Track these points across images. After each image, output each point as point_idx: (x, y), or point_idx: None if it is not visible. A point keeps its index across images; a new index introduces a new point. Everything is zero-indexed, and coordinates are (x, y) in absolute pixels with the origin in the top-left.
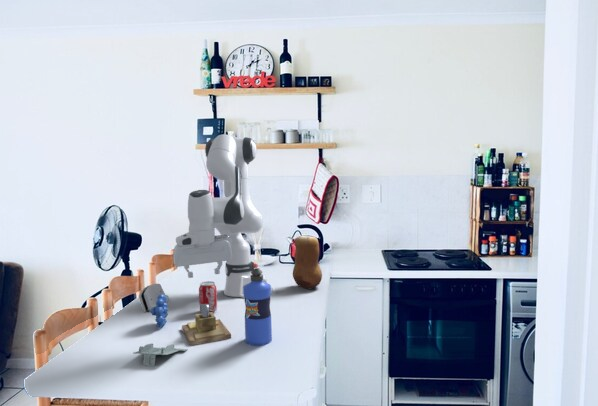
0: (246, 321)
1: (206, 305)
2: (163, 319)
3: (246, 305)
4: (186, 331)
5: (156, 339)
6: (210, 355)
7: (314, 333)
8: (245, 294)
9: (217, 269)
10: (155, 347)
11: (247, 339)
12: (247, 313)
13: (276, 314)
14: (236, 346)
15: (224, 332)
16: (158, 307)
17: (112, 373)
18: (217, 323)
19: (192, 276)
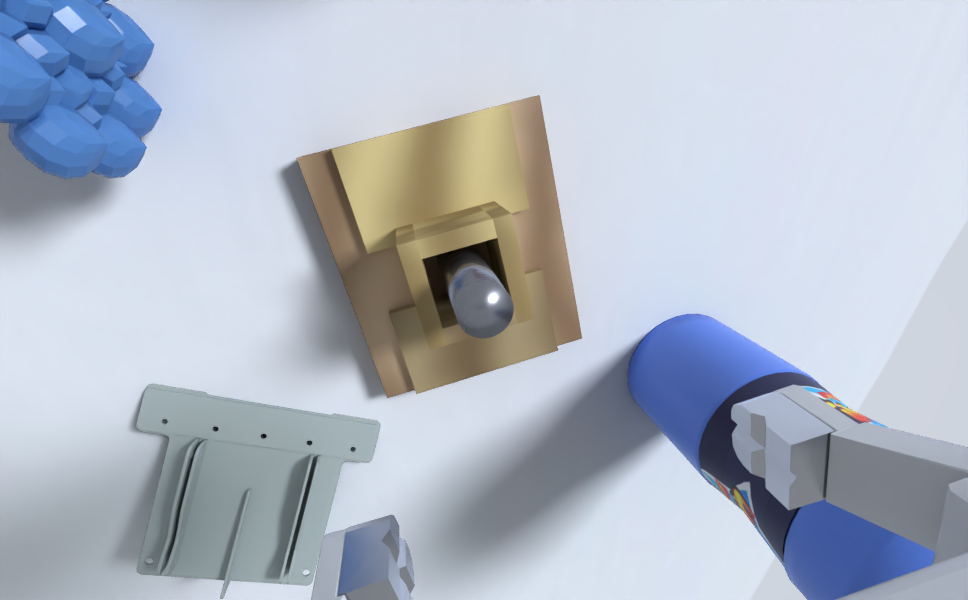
0: (687, 456)
1: (495, 324)
2: (138, 156)
3: (751, 517)
4: (346, 269)
5: (176, 289)
6: (480, 479)
7: (896, 329)
8: (807, 595)
9: (819, 499)
10: (210, 399)
11: (641, 406)
12: (721, 489)
13: (866, 26)
14: (585, 413)
15: (554, 340)
16: (24, 144)
17: (104, 595)
18: (525, 203)
19: (405, 578)
